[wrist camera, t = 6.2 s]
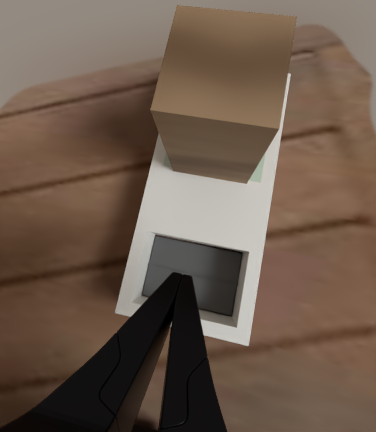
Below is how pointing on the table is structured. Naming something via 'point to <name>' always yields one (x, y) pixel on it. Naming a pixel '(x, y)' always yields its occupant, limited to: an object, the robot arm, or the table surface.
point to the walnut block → (222, 90)
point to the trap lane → (203, 240)
